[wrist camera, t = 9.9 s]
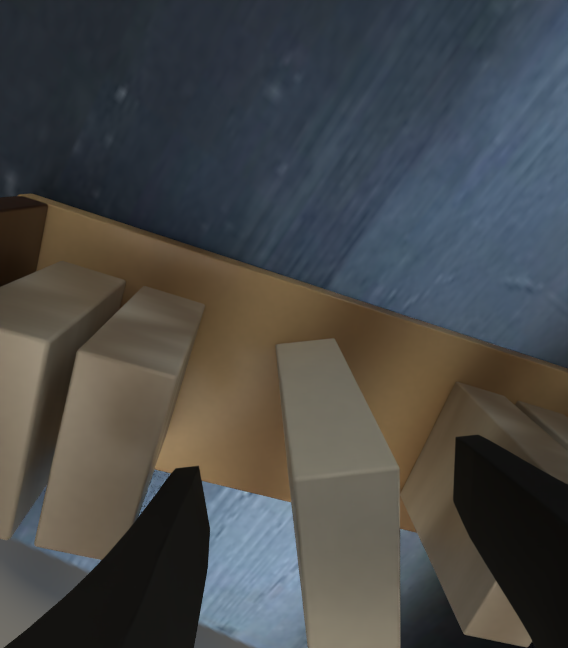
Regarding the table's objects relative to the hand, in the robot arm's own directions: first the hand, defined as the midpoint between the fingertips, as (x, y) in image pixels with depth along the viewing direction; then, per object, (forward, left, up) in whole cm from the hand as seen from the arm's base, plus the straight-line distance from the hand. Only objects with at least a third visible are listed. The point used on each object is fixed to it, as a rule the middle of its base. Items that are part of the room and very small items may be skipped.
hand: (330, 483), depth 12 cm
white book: (0, 0, -4) cm, 4 cm away
